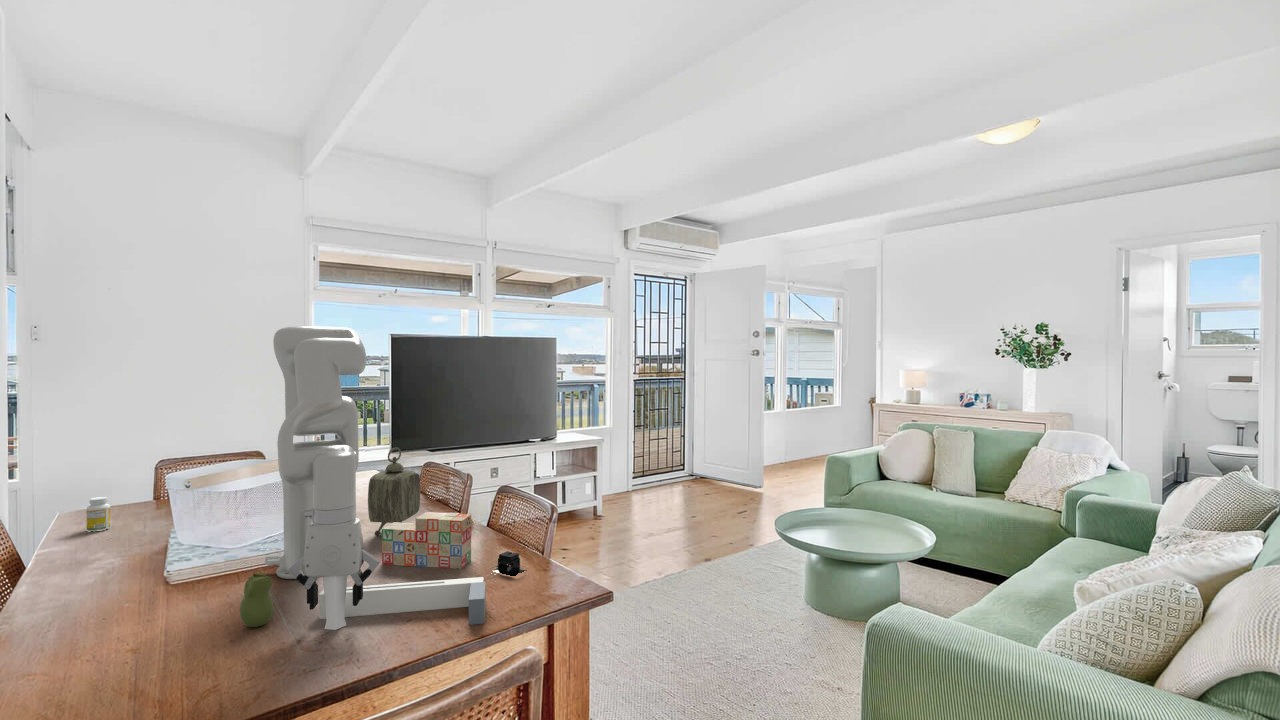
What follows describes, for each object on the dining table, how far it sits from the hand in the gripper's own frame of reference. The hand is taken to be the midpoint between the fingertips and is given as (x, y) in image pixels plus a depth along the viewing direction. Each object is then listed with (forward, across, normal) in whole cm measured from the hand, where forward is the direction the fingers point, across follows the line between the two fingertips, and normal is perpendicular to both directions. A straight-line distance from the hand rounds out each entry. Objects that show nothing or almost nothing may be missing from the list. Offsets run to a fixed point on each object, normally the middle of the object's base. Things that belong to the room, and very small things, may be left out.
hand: (335, 604), depth 121 cm
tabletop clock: (+4, +1, +64) cm, 65 cm away
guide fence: (+4, +12, +1) cm, 13 cm away
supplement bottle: (+4, -86, +84) cm, 121 cm away
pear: (+4, -15, +4) cm, 16 cm away
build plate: (+5, +34, +23) cm, 41 cm away
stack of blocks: (+5, +13, +34) cm, 37 cm away
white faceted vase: (+4, 0, 0) cm, 4 cm away
